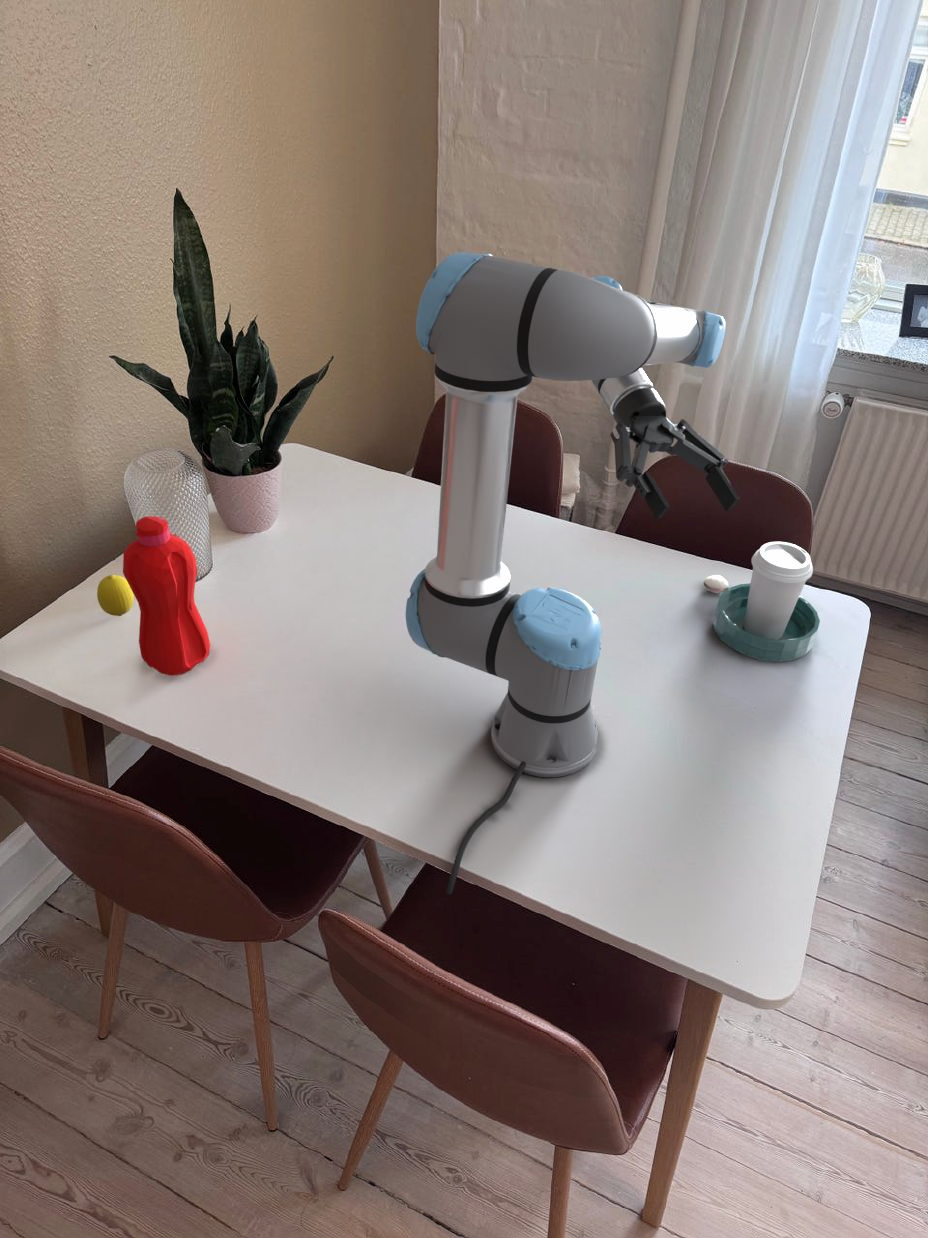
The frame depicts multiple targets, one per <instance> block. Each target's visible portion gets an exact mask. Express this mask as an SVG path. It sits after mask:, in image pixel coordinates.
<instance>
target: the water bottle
mask: <svg viewBox="0 0 928 1238" xmlns="http://www.w3.org/2000/svg"><path fill="white" fill-rule="evenodd" d="M135 529H136V530H135V531H136V533H135V534H134V536H136V537H137V539H135V540H133V541H132V542H131V543H129V544H128V545H127V547H126V548H125V550H124V551H123V556H122V557H123V558H122V559H123V560H122V573H123V577H124V578H125V579H126V580H127V582H128V584H129V586H130V588H131V590H132V592H133V595H134V598H135V600H136V601H137V604H138V607H139V612H140V615H139V631H138V645H139V646H138V647H139V652H140V656H141V658H142V660H143V661H144V662H145V664H146V665H147V666H148V667H149V668H151V669H154V670H156V671H157V672H158V673H159V674H162V675H166V676H170V677H174V676H179V675H184V674H186V673H188V672H190V671H192V670H193V669H194V668H195V667H196V666H198V665H199V664H201V663H204V661H205V660H206V659H207V658H208V657H209V656H210V651H211V642H210V638H209V633H208V631H207V627H206V625H205V622H204V621H203V619H202V616H201V614H200V612H199V609H198V607H197V604H196V603H195V588H196V580H197V576H198V568H197V558H196V556H195V554H194V552H193V550H192V548H191V546H190V545H189V544H188V543H187V541H186V540H184V539H182V538H181V537H180V536H179V535H177V534H176V533H172V532H171V530H170V527H169V522H168V521H167V519H165V518H163V517H160V516H154V515H153V516H152V515H148V516H147V515H146V516H143V517H142V518H139V519H138V520H137V521H136V522H135Z"/></svg>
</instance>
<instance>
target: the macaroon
mask: <svg viewBox="0 0 928 1238" xmlns="http://www.w3.org/2000/svg"><path fill="white" fill-rule="evenodd" d="M703 587H704V588H705V590H707V591H708V592H710V593H713V594H722V593H723V592H725V591H726V590H727V589H728V588H729V581H728V580H727V579H725V578H724V577H723V576H722V575H720V574H713V575H710V576H709V575H708V576H707V577H706V578H705V579H704V581H703Z"/></svg>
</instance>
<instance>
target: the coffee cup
mask: <svg viewBox="0 0 928 1238" xmlns="http://www.w3.org/2000/svg"><path fill="white" fill-rule="evenodd" d="M750 563H751V565H752V572H751V579H750V583H751V584H750V590H749V596H748V602H747V608H746V614H745V620H744V629H745V631H746V632H748V633H751V634H753V635H756V636H760V637H763V638H767V639H775V640H778V639H780V638H781V637H782V635H783V633H784V631H785V628H786V626H787V624H788V621H789V619H790V617H791V614H792V612H793V610H794V607H795V605H796V603H797V601H798V598H799V596H800V597H801V593H802V591H803V589H804V586H805V585H806V582H807V581H808V580H809V579H810V578H812V576H813V572H814V568H813V563H812V560H811V555H810V554H809V553H808V552H807V551H806V550H805V549H804V548H802V547H800V546H798V545H796V544H793V543H791V542H786V541H769V542H767V543H764V544H763V545H761V546H760V548H759V549H757V550H756V551H755V553H754V554H753V555H752V556H751V562H750Z"/></svg>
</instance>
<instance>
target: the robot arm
mask: <svg viewBox="0 0 928 1238" xmlns="http://www.w3.org/2000/svg"><path fill="white" fill-rule="evenodd" d="M725 334H726V320H725V319H724V317H723V316H722V315H720V314H715V313H711V312H709V311H707V310H697V309H692V308H687V307H683V306H678V305H673V304H672V305H671V304H665V303H660V302H657V301H652V300H647V299H644V298H643V297H642V296H640V295H638V294H635V293H634V292H631V291H626V290H623V288H622V286H621V284H620V283H619V282H617V280H615V279H614V278H612V277H610V276H606V275H598V276H594V277H589V276H586V275H583V274H581V273H578V272H574V271H570V270H566V269H558V268H552V267H546V266H542V265H538V264H533V263H527V262H524V261H519V260H514V259H509V258H504V257H500V256H494V255H492V254H491V253H484V254H481V253H471V252H454V253H452V254H450V255H448V256H447V257H445V258H444V259H443V260H441V262H439V264H438V265H437V266H436V267H435V268H434V269H433V271H432V273H431V275H430V277H429V279H428V280H427V282H426V283H425V286H424V288H423V290H422V294H421V296H420V300H419V302H418V307H417V312H416V318H415V335H416V339H417V341H418V344H419V346H420V347H421V348H422V350H424V351H426V353H427V354H430V355H434V371H433V372H434V378H435V380H436V381H437V382H438V383H439V384H440V385H441V386H442V387H443V388H444V389H445V406H444V425H443V439H442V440H443V441H442V459H441V478H440V492H439V494H440V496H439V511H438V513H439V515H438V527H437V529H438V531H437V548H436V556H435V557H434V558H432V559H430V561H429V562H427V564H426V566H425V568H424V569H422V570H421V571H420V572H419V573H418V574H417V575H416V576H415V578H414V580H413V581H412V584H411V586H410V589H409V593H410V595H409V597H407V599H406V605H405V624H406V629H407V632H408V634H409V636H410V639H411V640H412V641H413V643H414V644H416V645H417V646H418V647H420V648H421V649H424V650H426V651H428V652H431V653H432V654H433V655H436V656H437V657H439V658H446V659H448V660H452V661H454V662H457V663H459V664H463V665H465V666H468V667H471V668H473V669H475V670H477V671H481V672H484V673H487V674H489V675H492V676H494V677H498V678H499V679H502V680H505V681H508V682H507V683H508V685H507V692H506V694H505V696H504V697H503V699H502V702H501V703H500V705H499V707H498V709H497V710H496V713H495V715H494V716H493V719H492V723H491V733H490V736H491V737H490V738H491V744H492V747H493V749H494V751H495V753H496V754H497V756H499V758H500V759H501V760H502V761H503V762H504V763H505V764H507V765H508V766H509V767H511V768H512V769H515V772H514V774H513V776H512V778H511V780H510V781H509V784H508V786H507V788H506V790H505V793H504V794H503V796H502V797H501V798H500V799H499V800H498V802H496V803H495V804H493V805H492V806H490V808H488V809H486V810H485V811H484V812H483V813H482V814H481V815H480V816H479V817H478V818H477V819H476V820H475V821H474V822H473V823H472V824H471V825H470V827H469V828H468V830H466V833H465V835H464V836H463V837H462V840H461V842H460V844H459V846H458V848H457V851H456V855H455V857H454V861H453V864H452V869H451V872H450V875H449V878H448V882H447V885H446V889H445V893H446V895H451V894H452V893H453V891H454V887H455V884H456V880H457V877H458V874H459V873H458V872H459V870H460V867H461V862H462V859H463V856H464V854H465V850H466V849H467V846H468V844H469V843H470V840H471V839H472V837H473V835H474V833H475V832H476V831H477V830H478V828H479V827H480V826H481V825H482V824H483V823H484V822H485V821H487V820H488V818H490V816H492V815H493V814H494V813H496V812H497V811H499V810H500V809H502V808H503V807H504V805H505V804H506V803H507V802H508V800H509V799H510V798H511V796H512V793H513V792H514V789H515V787H516V785H517V783H518V782H519V779H520V778H521V776H522V774H527V775H529V776H534V777H540V778H559V777H565V776H568V775H569V776H570V775H573V774H574V773H577V772H578V771H581V770H582V769H583V768H585V767H586V766H587V765H588V764H590V762H591V761H592V759H593V758H594V756H595V755H596V752H597V747H598V741H599V730H598V725H597V724H596V720H595V717H594V712H593V711H594V709H595V705H592V703H591V702H592V698H593V697H592V696H593V690H594V686H595V685H594V684H595V678H596V673H597V667H598V661H599V659H600V655H601V649H602V648H601V637H602V636H601V635H602V626H601V622H600V618H599V617H598V616H597V614H596V611H595V610H594V608H593V607H592V606H591V605H590V604H589V603H588V602H587V601H586V600H584V599H583V598H582V597H580V596H579V595H576V594H575V593H572V592H570V591H567V590H565V589H561V588H557V587H547V589H544V588H543V587H536V588H531V589H530V590H527V591H526V592H524V593H523V594H519V593H516V592H514V591H511V590H510V586H511V585H510V584H511V571H510V570H509V568H508V567H507V565H505V564H504V563H503V562H502V553H503V545H504V544H503V543H504V536H505V535H504V533H505V525H506V514H507V505H508V493H509V486H510V485H509V484H510V474H511V465H512V455H513V445H514V435H515V425H516V417H517V415H516V414H517V406H518V396H519V395H520V394H522V393H523V392H524V391H525V390H527V389H528V388H530V386H531V385H532V381H533V378H540V379H543V380H550V381H557V382H558V381H560V382H583V381H591V383H592V384H593V385H594V387H595V389H596V391H597V392H598V393H599V395H600V397H601V399H602V400H603V402H604V403H605V405H606V407H607V409H608V411H609V412H610V414H611V416H613V419H614V421H615V423H616V425H615V426H614V428H613V429H612V431H611V432H610V434H609V435H610V438H611V441H612V442H613V447H614V463H615V478H616V479H617V481H620V482H623V481H624V480H626V481H625V482H624V484H625V485H626V486H627V487H628V488H632V487H633V486H634V488H635V490H636V491H637V493H638V495H639V496H640V497H641V498H642V499H644V501H645V503H646V504H647V506H648V508H649V509H650V511H651V513H652V514H653V516H654V518H655V520H661V519H662V518H663V516H664V515H665V514H666V513H667V511H668V510H669V509H670V505H669V502H668V501H667V499H666V498H665V496H664V495H663V493H662V491H661V489H660V488H659V486H658V485H657V483H656V481H655V479H654V477H653V476H652V474H651V473H650V471H644V469H645V465H646V462H647V457H648V453H650V454H652V453H653V454H654V453H657V452H660V453H667V454H668V455H670V456H677V457H678V458H680V459H681V460H683V461H684V462H686V463H688V464H690V465H691V466H693V467H694V468H696V469H697V470H699V471H700V472H701V473H703V474H705V475H706V477H705V478H704V479H705V481H706V482H707V484H708V486H710V488H711V490H712V492H713V493H714V495H715V496H716V498H717V499H718V501H719V503H720V504H721V506H722V508H723V509H724V511H725V512H730V511H731V510H732V509H733V508H734V507H735V506H736V504H737V503H738V502H739V501H740V497H739V496H738V495H737V493H736V491H735V490H734V488H733V487H732V484H731V481H730V479H729V478H728V477H727V475H726V473H725V472H724V470H723V469H724V467H725V466H726V465H727V464H728V463H729V458H728V457H726V456H725V455H724V454H723V453H722V452H720V451H719V450H718V449H717V448H716V447H715V446H713V445H712V444H711V443H710V442H708V441H707V440H706V439H705V438H704V437H703V436H701V435H700V434H699V433H698V432H697V431H695V429H693V427H692V426H691V425H690V424H689V422H688V421H687V420H686V419H685V418H681V419H680V420H679V422H678V423H672V422H671V421H670V420H669V419H668V418H667V407H666V404H665V403H664V401H663V400H662V397H660V395H659V393H658V392H657V390H655V387H654V384H653V383H652V382H651V380H650V379H649V377H648V376H647V374H646V373H645V371H644V370H643V367H644V366H654V365H664V364H674V363H675V364H676V363H677V364H678V363H679V364H683V365H688V366H689V367H698V368H705V369H706V368H707V369H708V368H710V367H712V366H713V365H714V364H715V363H716V362H717V360H718V357H719V355H720V353H721V350H722V347H723V342H724V339H725ZM675 440H676V442H675V443H674V441H675ZM630 441H632V442H633V443H635V447H634V451H633V458H632V456H631V442H630ZM643 472H644V473H643Z"/></svg>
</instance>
